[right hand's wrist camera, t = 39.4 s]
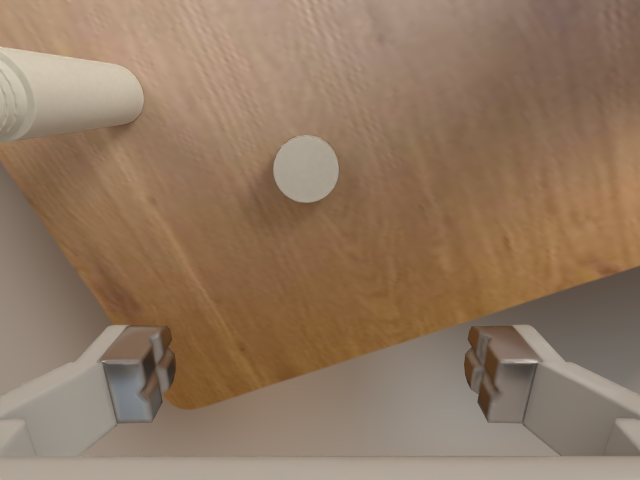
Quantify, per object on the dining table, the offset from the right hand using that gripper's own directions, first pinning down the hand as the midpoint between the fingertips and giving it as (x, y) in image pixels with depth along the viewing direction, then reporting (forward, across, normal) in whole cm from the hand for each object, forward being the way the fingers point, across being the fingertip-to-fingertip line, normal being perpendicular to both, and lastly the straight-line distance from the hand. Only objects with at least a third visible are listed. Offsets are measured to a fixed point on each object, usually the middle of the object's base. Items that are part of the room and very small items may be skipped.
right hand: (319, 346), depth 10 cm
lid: (+25, +1, 0) cm, 25 cm away
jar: (+27, +18, -6) cm, 33 cm away
